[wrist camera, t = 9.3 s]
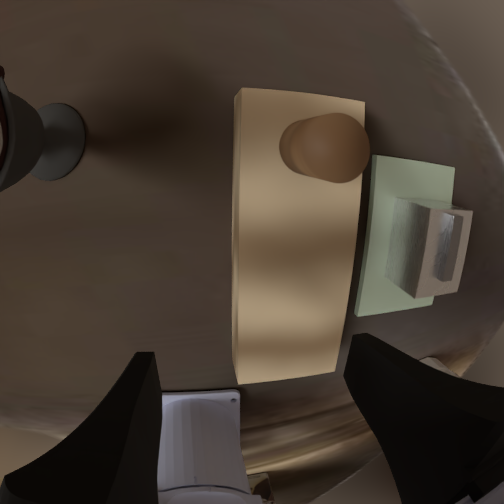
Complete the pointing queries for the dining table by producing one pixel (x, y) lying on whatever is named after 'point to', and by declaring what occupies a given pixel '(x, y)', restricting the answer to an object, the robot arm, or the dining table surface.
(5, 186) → the sundae
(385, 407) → the robot arm
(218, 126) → the dining table surface
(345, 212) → the panel with round knob
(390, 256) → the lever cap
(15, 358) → the dining table surface
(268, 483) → the coffee box
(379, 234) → the board
